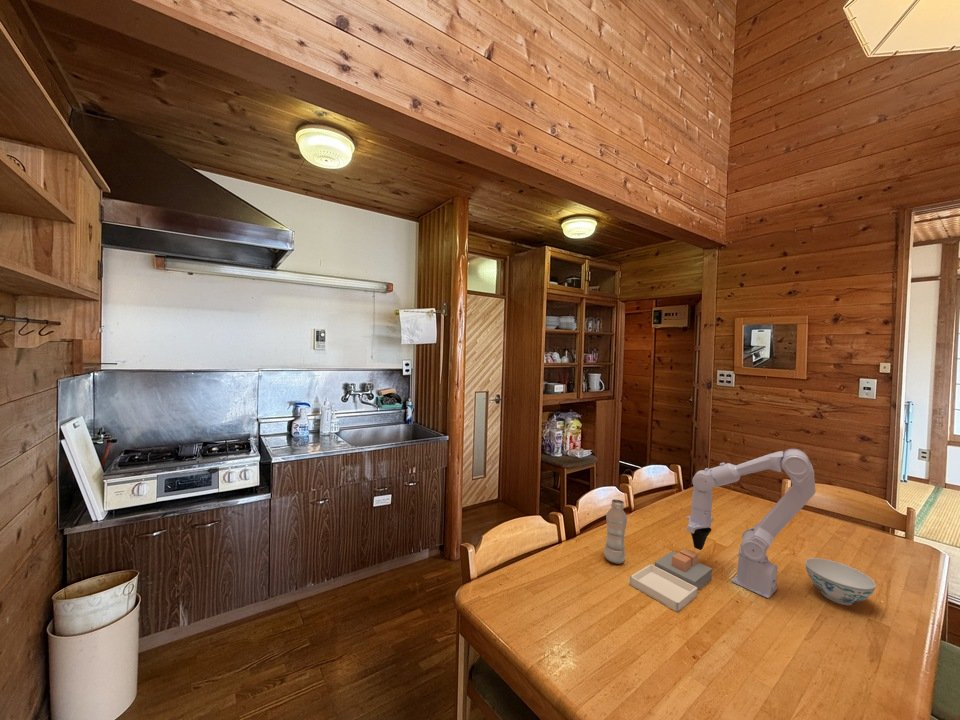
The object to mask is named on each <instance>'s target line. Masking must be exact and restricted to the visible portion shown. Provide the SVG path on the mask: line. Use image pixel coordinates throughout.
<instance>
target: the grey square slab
mask: <svg viewBox="0 0 960 720" xmlns="http://www.w3.org/2000/svg"><path fill="white" fill-rule="evenodd" d="M677 553H678V552H676V551H674V550H672V551H671V552H669V553H667V554H665V555H664V556H662V557H661V558H659V559H657V560H655V561H654V566H656V567H658V568H660V569H662V570H664V571H666V572H668V573H670V574H672V575H674V576H676V577H678V578H680V579H682V580H683V581H685V582H687V583H689V584H691V585H693V586H695V587H697V588H698V591H699V590H700V589H702V588H703V587H705V586H706V585H707V584H708V583H710V581H712V578H713V577H712V576H713V568H712V567H710V566H707V565H705V564H702V563H700V562H699V561H698V563H697V564H696V565H694V566H693V567H691V568H690V569H689V570H687V571H686V572H683V571H681V570H679V569H677V568H675V567H673V566H671V565H672V556H673V555H675V554H677Z"/></svg>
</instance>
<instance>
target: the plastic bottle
mask: <svg viewBox="0 0 960 720" xmlns="http://www.w3.org/2000/svg"><path fill="white" fill-rule="evenodd" d="M610 505H611V508H610V509H608V510H607V512H606V514H605V515H606V516H605V517H606V540H605V541H606V542H605V545H604V550H603V553H604V557H605V559H606V560H607V562H610V563H613V564H617V565H618V564H623V562H625V560H626V549H625V538H626V537H625V536H626V535H625V534H626V529H627V528H626V527H627V524H628V517H627V514H626V512H625V511H624V508H625V507H624V505H625V503H624V501H623V500H622V499H612V500H611V504H610Z"/></svg>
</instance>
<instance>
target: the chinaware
mask: <svg viewBox="0 0 960 720" xmlns="http://www.w3.org/2000/svg"><path fill="white" fill-rule="evenodd" d="M804 562H805V568H806V573H807V574H808V577H809V578H810V580H811V582H812V583H813V584H814V586H815V587H816V588H817V589H818V590H819V591H820V592H821V595H823V596H824V597H825V598H827V599H828V600H829V601H832V602H833V603H835V604H836V603H837V604H839V605H842V606H843V605H844V606H852V605H854V604H853V603H859V602H863V601H866V600H868V599H869V598H870V597H871V596H872V595H873V593H874V592H875V589H876V588H877V587H876V586H877V585H876V582H875V581H874V580H873V578H871V577H870V576H868V575H867V574H866V573H863V572H862V571H859V570H858V569H857V568H854V567H852V566H849V565H847V564H843V563H841V562H838V561H833V560H831V559H825V558H821V557H820V558H819V557H818V558H817V557H810V558H807V559H805V561H804Z"/></svg>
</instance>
